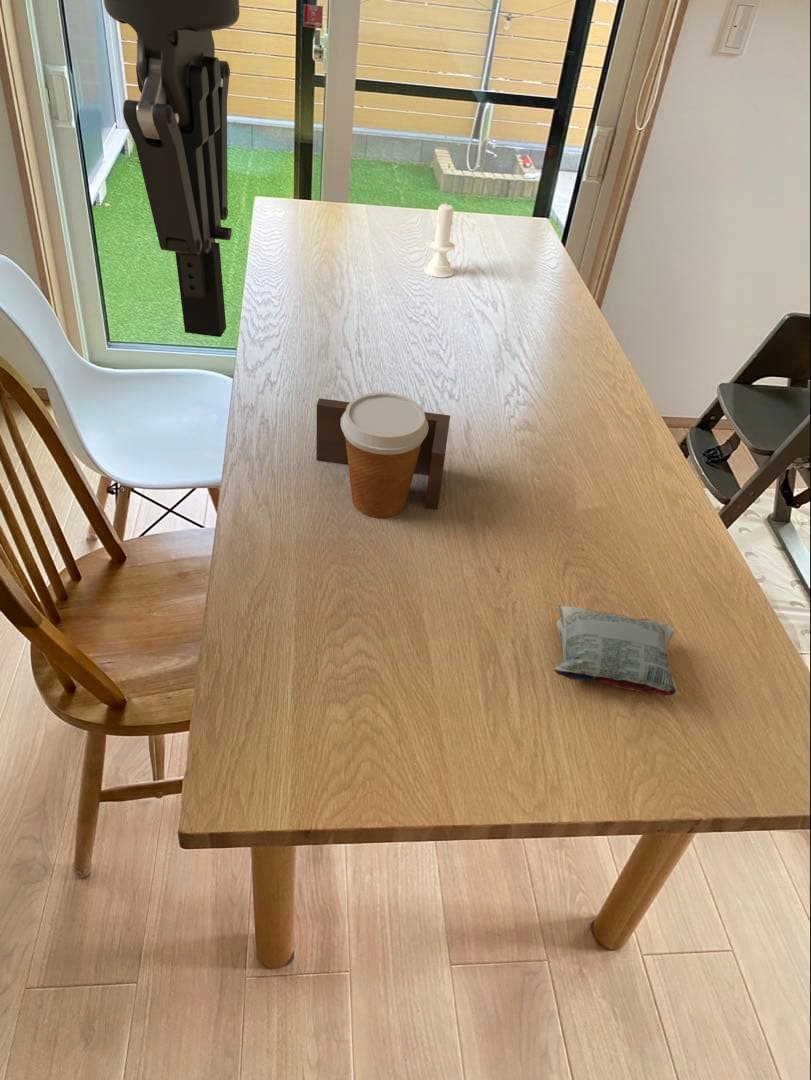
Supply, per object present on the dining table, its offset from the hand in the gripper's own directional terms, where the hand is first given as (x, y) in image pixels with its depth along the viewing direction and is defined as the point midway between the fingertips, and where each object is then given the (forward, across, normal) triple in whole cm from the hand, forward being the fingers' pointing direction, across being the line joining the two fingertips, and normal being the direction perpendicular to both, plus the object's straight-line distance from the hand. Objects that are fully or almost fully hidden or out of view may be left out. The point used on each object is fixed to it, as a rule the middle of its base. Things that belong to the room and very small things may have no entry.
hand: (205, 330), depth 59 cm
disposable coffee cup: (+30, +18, -12) cm, 37 cm away
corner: (+29, +22, -11) cm, 38 cm away
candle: (+30, +84, -14) cm, 90 cm away
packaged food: (+30, -1, -38) cm, 48 cm away
